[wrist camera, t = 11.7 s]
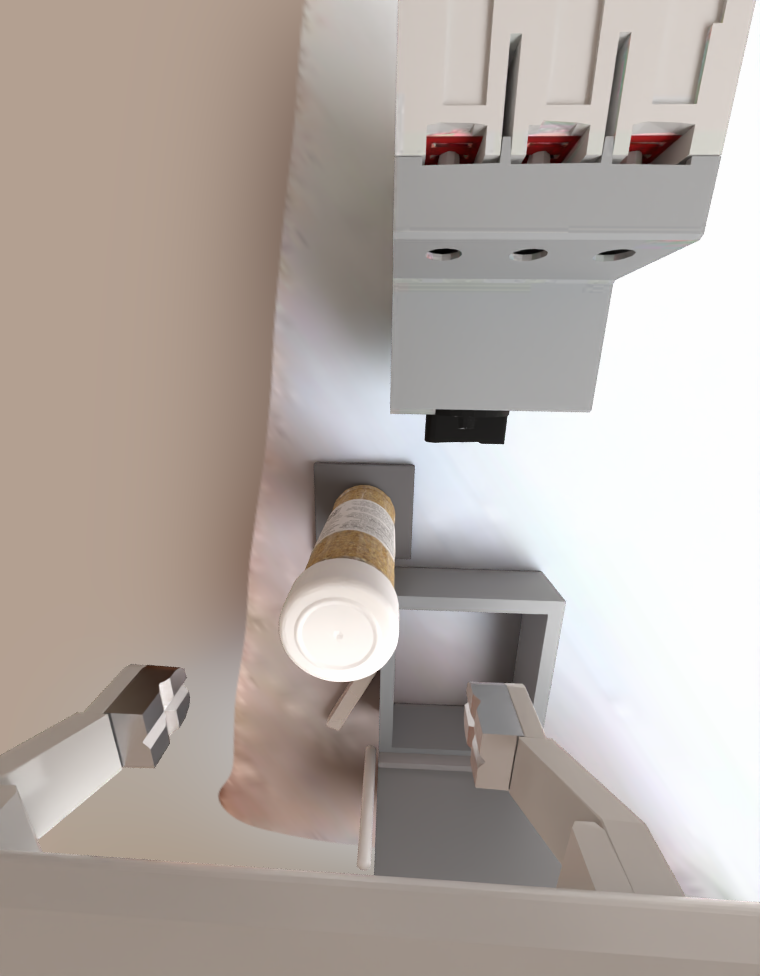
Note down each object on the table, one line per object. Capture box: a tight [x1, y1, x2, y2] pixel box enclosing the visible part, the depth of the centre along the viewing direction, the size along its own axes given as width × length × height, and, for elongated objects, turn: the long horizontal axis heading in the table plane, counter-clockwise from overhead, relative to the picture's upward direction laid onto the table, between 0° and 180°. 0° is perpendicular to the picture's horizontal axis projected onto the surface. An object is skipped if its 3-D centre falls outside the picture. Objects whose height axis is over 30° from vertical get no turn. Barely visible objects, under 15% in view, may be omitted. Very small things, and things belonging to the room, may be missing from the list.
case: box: [357, 567, 566, 888], centre depth 22 cm, size 15×13×16 cm
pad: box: [314, 463, 415, 559], centre depth 27 cm, size 7×7×1 cm
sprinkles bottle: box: [279, 485, 399, 682], centre depth 20 cm, size 5×5×14 cm
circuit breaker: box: [390, 0, 756, 444], centre depth 16 cm, size 8×14×15 cm, turn 179°
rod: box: [326, 672, 376, 731], centre depth 31 cm, size 7×1×1 cm, turn 152°
